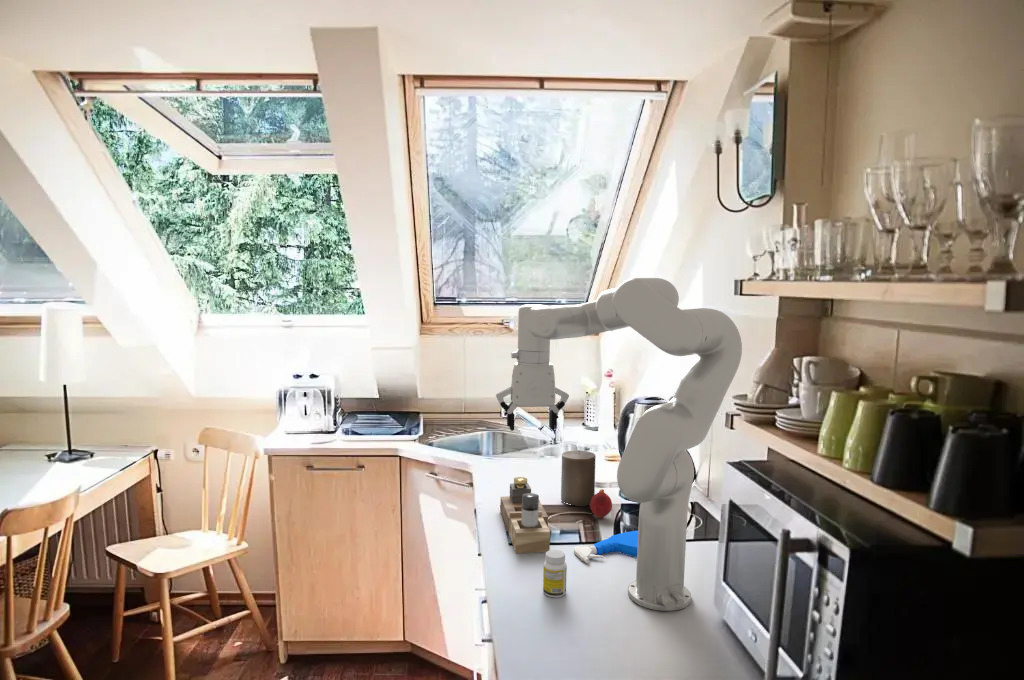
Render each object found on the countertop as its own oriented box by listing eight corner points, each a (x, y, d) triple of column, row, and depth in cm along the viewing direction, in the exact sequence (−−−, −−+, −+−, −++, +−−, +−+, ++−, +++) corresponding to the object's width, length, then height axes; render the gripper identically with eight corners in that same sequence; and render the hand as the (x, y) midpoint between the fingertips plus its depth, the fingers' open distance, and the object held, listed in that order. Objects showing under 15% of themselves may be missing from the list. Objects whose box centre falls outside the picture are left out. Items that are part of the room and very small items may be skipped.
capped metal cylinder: (538, 547, 165) (540, 498, 163) (522, 547, 164) (523, 499, 163) (535, 540, 169) (537, 492, 167) (519, 541, 168) (520, 493, 167)
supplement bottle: (552, 585, 145) (553, 546, 144) (570, 592, 142) (571, 553, 141) (538, 593, 142) (539, 553, 141) (556, 600, 139) (558, 560, 138)
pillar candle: (601, 504, 196) (602, 452, 194) (571, 508, 191) (573, 455, 190) (582, 494, 204) (583, 444, 203) (553, 498, 200) (555, 447, 198)
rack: (549, 551, 162) (550, 527, 161) (515, 553, 161) (516, 528, 160) (540, 533, 173) (541, 510, 172) (509, 535, 172) (509, 511, 171)
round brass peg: (527, 496, 185) (528, 480, 184) (514, 496, 184) (515, 481, 184) (525, 491, 188) (526, 476, 188) (512, 492, 188) (513, 477, 187)
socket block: (547, 532, 174) (548, 502, 173) (508, 533, 173) (509, 504, 172) (536, 509, 190) (537, 482, 189) (500, 510, 188) (500, 483, 188)
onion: (610, 523, 181) (611, 493, 180) (588, 521, 182) (589, 491, 181) (612, 515, 187) (613, 486, 186) (590, 513, 188) (591, 485, 187)
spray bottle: (654, 525, 173) (566, 539, 164) (680, 542, 163) (588, 557, 154) (654, 537, 174) (566, 551, 165) (680, 554, 163) (587, 570, 155)
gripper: (498, 359, 157) (497, 433, 158) (573, 359, 159) (571, 432, 161) (494, 355, 164) (493, 426, 166) (566, 355, 166) (564, 425, 168)
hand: (531, 429), depth 163 cm, fingers open, 9 cm apart
